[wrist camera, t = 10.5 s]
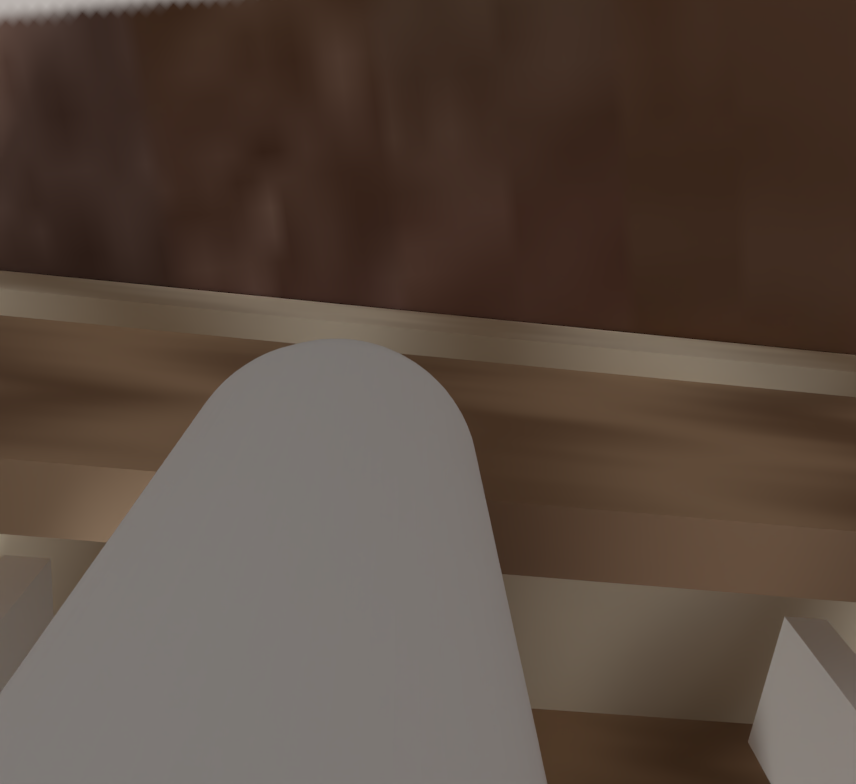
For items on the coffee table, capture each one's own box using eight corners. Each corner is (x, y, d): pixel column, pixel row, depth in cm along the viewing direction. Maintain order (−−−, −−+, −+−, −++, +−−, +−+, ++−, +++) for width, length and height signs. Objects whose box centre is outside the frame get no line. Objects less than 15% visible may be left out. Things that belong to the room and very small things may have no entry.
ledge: (-106, 672, 19) (-410, 1000, 12) (-160, 254, 16) (-618, 363, 9) (862, 739, 20) (1104, 1069, 13) (991, 368, 17) (1399, 541, 10)
